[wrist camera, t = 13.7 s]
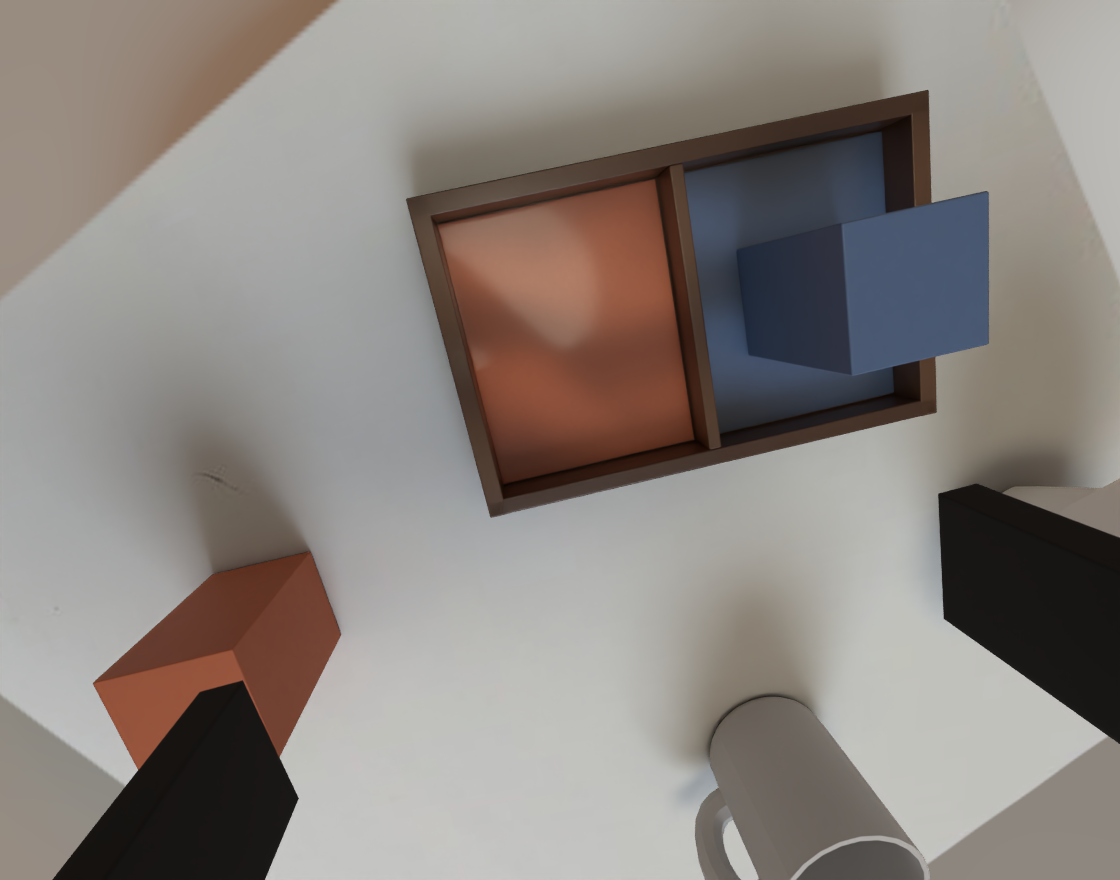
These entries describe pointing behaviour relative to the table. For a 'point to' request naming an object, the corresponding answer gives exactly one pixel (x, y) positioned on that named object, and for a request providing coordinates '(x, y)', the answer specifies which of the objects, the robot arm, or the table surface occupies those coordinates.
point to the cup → (796, 803)
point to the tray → (656, 302)
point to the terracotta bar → (227, 652)
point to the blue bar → (872, 289)
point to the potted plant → (1077, 503)
